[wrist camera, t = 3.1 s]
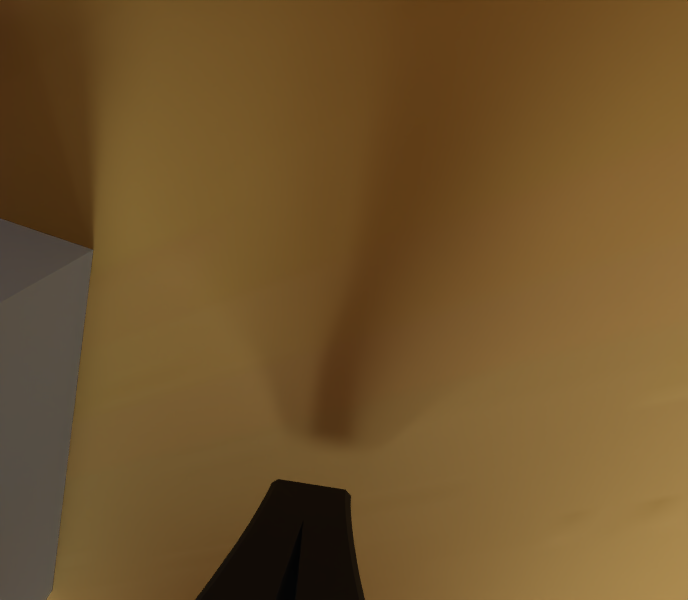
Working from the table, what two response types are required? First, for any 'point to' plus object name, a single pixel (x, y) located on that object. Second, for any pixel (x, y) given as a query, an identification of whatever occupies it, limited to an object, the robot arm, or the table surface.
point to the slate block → (36, 398)
